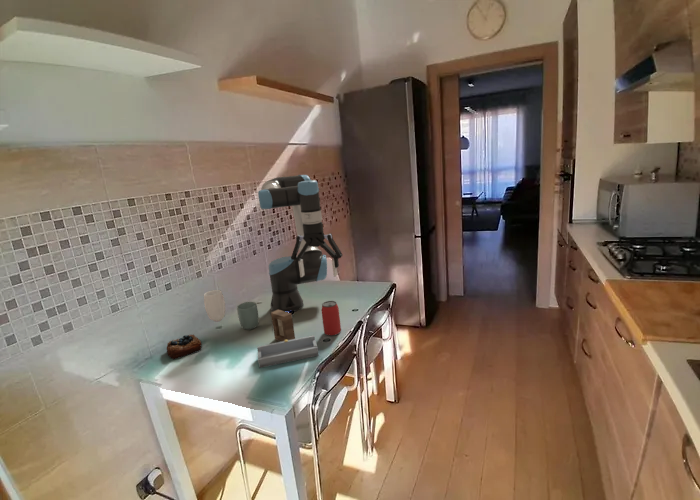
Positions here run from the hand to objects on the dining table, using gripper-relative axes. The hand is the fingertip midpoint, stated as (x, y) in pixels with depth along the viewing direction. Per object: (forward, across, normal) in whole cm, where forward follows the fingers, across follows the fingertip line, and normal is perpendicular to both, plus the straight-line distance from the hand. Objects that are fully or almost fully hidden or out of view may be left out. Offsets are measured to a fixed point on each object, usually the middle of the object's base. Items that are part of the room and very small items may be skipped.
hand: (318, 275), depth 145 cm
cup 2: (+22, -32, -3) cm, 39 cm away
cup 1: (+22, -37, -16) cm, 46 cm away
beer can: (+22, +5, -5) cm, 23 cm away
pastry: (+22, -49, -23) cm, 58 cm away
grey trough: (+21, -6, -24) cm, 33 cm away
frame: (+21, -12, -12) cm, 27 cm away
